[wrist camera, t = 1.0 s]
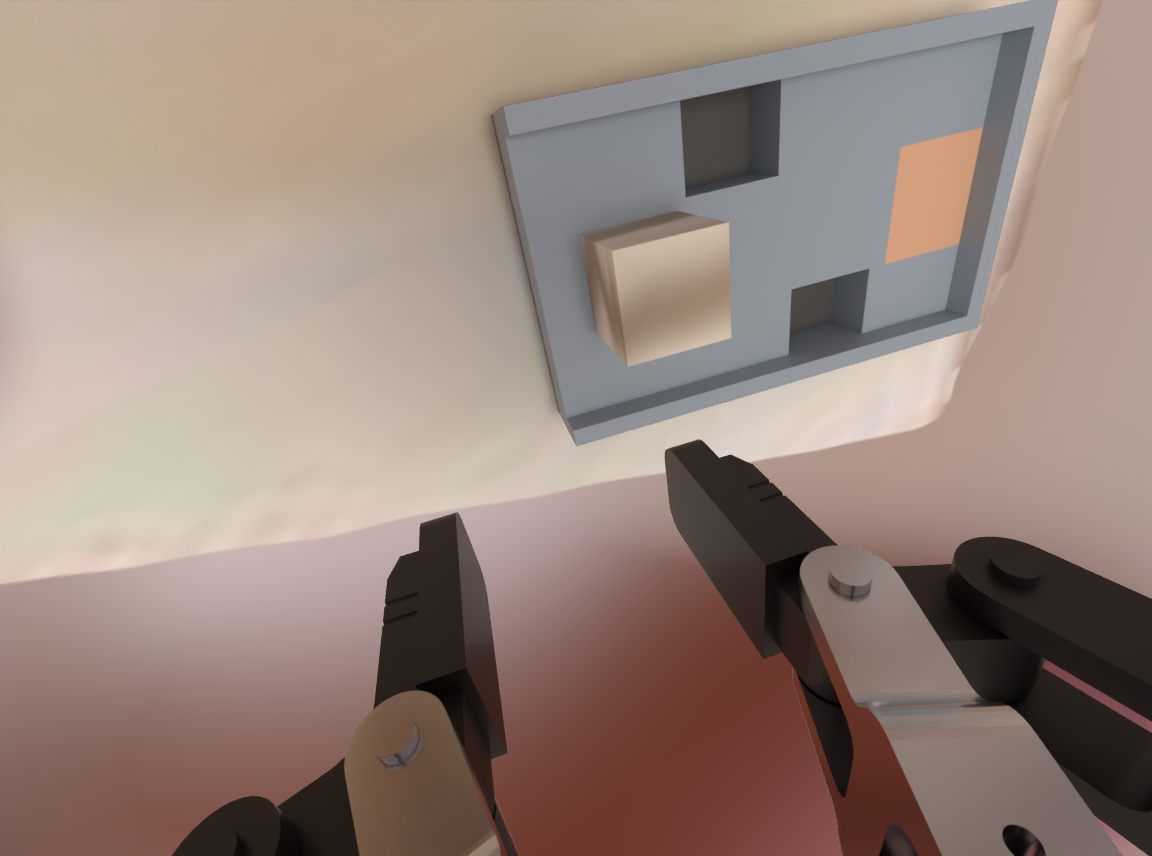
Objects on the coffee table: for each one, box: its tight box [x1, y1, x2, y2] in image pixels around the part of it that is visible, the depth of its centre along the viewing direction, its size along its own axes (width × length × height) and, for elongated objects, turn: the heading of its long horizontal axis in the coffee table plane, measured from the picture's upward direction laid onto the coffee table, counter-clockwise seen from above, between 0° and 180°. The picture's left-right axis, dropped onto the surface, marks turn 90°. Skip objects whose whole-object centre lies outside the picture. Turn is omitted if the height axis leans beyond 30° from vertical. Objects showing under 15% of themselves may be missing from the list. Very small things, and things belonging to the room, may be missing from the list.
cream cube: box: [580, 211, 731, 367], centre depth 23 cm, size 5×5×5 cm
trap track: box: [492, 0, 1058, 446], centre depth 27 cm, size 16×26×4 cm, turn 101°
